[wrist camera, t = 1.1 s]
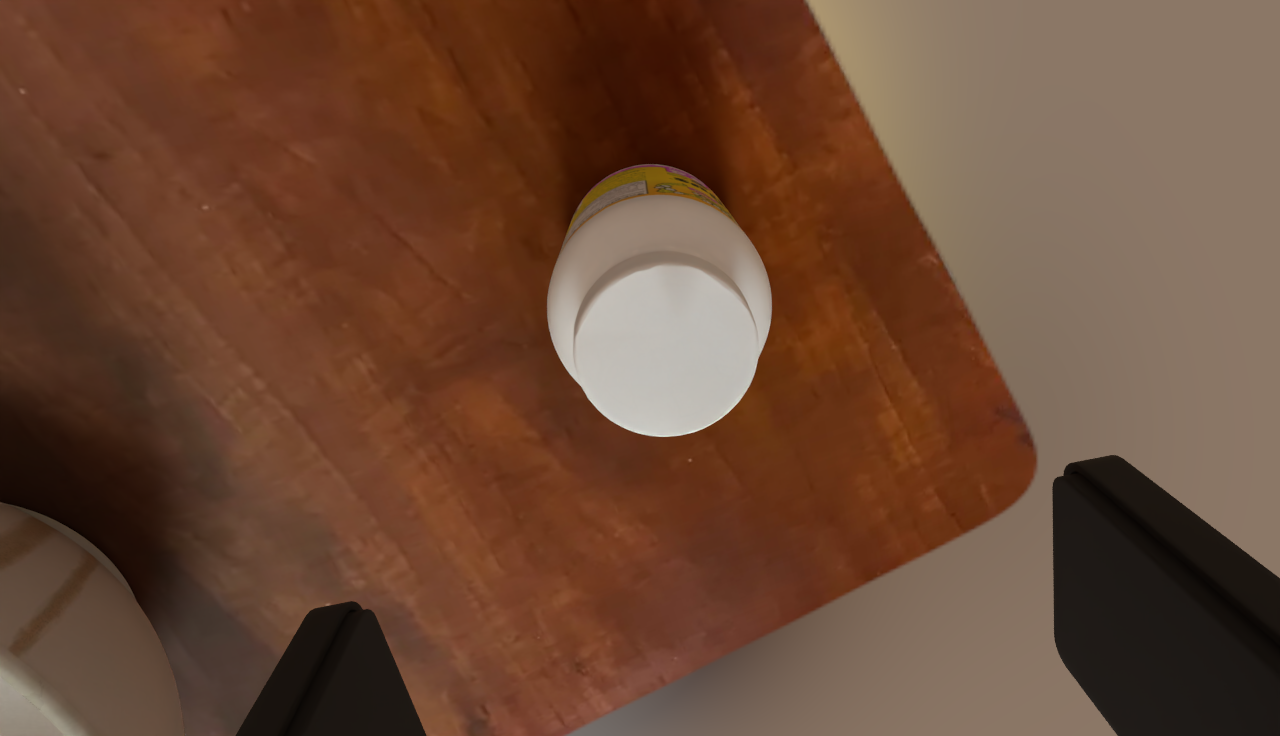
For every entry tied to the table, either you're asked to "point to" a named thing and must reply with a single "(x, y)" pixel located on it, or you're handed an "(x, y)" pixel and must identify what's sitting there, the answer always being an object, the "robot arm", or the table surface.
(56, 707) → the decorative bowl
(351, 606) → the robot arm
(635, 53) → the table surface
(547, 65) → the table surface
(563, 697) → the table surface
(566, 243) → the supplement bottle
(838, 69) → the table surface
